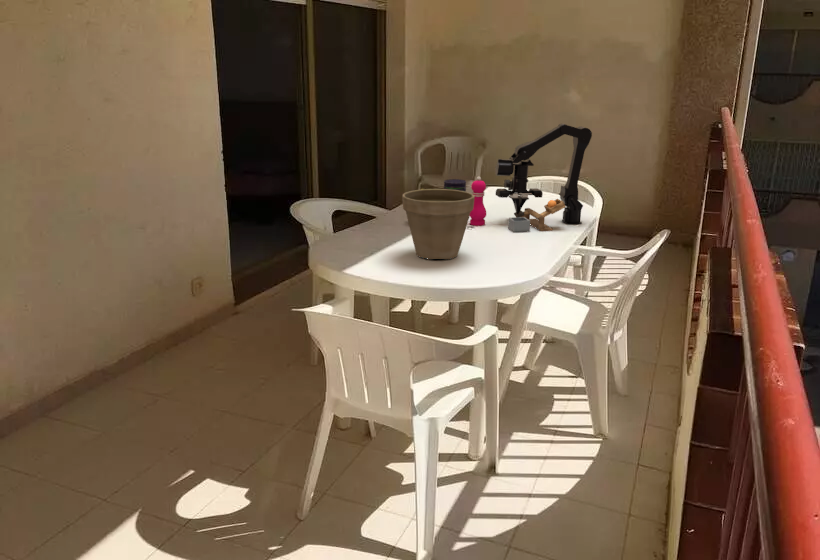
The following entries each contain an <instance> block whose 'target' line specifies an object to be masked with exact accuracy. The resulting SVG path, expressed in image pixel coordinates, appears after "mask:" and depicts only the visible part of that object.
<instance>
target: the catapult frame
mask: <svg viewBox="0 0 820 560" xmlns="http://www.w3.org/2000/svg"><path fill="white" fill-rule="evenodd" d="M528 209H529V207H526V208H524V211H526V210H528ZM530 217H531V215H530V214H528V215H527V216H525V218H527V219H528V220H530V224H531V225H530V226H532V225H533V226H534V227H533V226H532V227H533V228H535V227H536V228H537V230H538V229H539V230H538V231H539V232H550V231H553V228H552V227H551V226H548V225H547V224H545V222H546V219H545V218H546V217H539V220H538V219H536V218H530ZM536 228H535V229H536Z"/></svg>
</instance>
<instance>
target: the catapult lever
mask: <svg viewBox="0 0 820 560" xmlns="http://www.w3.org/2000/svg"><path fill="white" fill-rule="evenodd" d="M553 200H554V201H555V202H556V206H554V207H552V208H550V207H548V203H547V204H545V205H544V206H543V207H544V209H545V210H544V211H543V212H541V213H539V212H537V211H535V209H534V210H533V209H532V208H529V207H528V208H529V209H528V210H526V211H525V210H524V211H522V209H521V210H520V212H519V213H518V214H517V213H516V211H515V212H514V213H513V215H514V217H525V216H527V215H528V214H530V217H531V216H532V217H533V218H534V219H537V220H539V217H545V218H546V217H547V216H549V215H554V214H556V213H557V212H559V211H561V210H564V208H565V207H566V206H565V204H564V202H563V201H561V199H560V198H559V199H558V198H557V199H553Z"/></svg>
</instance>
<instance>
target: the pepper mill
mask: <svg viewBox="0 0 820 560" xmlns="http://www.w3.org/2000/svg"><path fill="white" fill-rule="evenodd" d="M470 188H471V190H472V193H471V194H473V195H474V207H473V210H472V211H471V212H470V216H469V225H471V226H475V227H480V226H484V225H486V219H485V218H486V217H487V210H486V208H485V204H484V196H485V190H486V189H487V185H486V183H485V181H484V180H482V178H481V176H477V177H476V180H474V181H472V183H471V187H470Z"/></svg>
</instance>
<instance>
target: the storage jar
mask: <svg viewBox="0 0 820 560" xmlns="http://www.w3.org/2000/svg"><path fill="white" fill-rule="evenodd" d="M443 189H450V190H459V191H465V192H467V181H466V180H465V179H461V178H460V179H459V178H458V179H456V178H452V179H451V178H450V179H449V178H448V179H445V180H444V181H443Z"/></svg>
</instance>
